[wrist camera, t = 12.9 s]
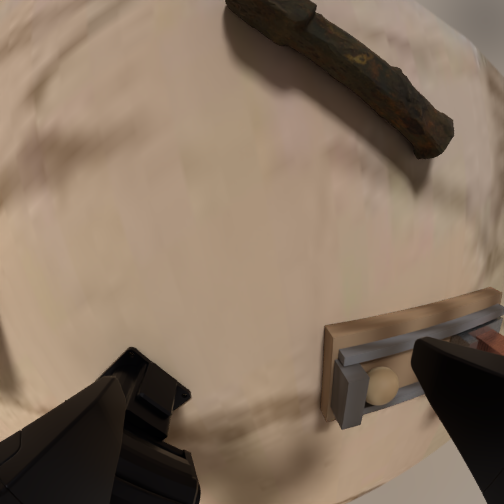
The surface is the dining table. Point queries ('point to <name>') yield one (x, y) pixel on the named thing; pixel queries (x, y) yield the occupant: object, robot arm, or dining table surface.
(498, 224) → the dining table surface
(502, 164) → the dining table surface
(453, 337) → the lever
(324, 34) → the dark brown bar
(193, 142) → the dining table surface
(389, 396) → the nut
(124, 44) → the dining table surface
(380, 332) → the ball pusher game
